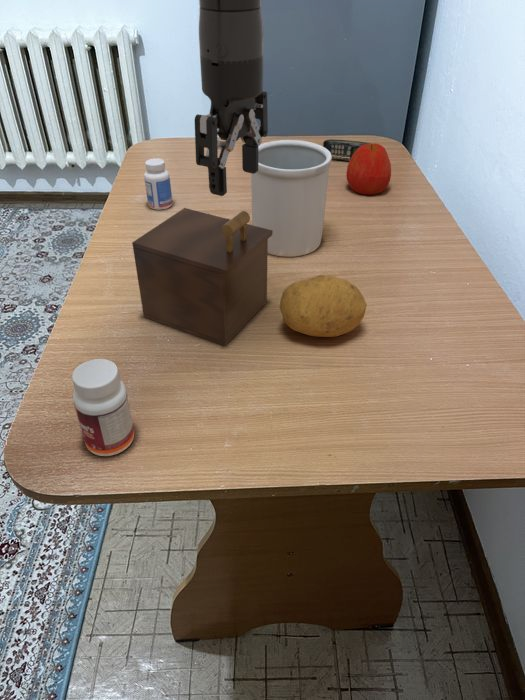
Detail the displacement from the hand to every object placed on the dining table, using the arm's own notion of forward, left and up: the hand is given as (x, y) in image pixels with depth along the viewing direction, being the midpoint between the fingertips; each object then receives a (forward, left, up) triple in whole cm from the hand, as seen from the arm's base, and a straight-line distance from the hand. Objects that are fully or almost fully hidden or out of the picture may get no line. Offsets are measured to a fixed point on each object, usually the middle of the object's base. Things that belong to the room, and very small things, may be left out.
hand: (234, 182), depth 77 cm
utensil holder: (+28, +5, -23) cm, 37 cm away
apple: (+60, 0, -24) cm, 64 cm away
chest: (0, +6, -23) cm, 24 cm away
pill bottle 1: (-30, +1, -24) cm, 38 cm away
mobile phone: (+75, +10, -24) cm, 79 cm away
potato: (+4, -13, -23) cm, 27 cm away
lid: (0, +6, -10) cm, 12 cm away
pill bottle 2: (+29, +37, -24) cm, 53 cm away
